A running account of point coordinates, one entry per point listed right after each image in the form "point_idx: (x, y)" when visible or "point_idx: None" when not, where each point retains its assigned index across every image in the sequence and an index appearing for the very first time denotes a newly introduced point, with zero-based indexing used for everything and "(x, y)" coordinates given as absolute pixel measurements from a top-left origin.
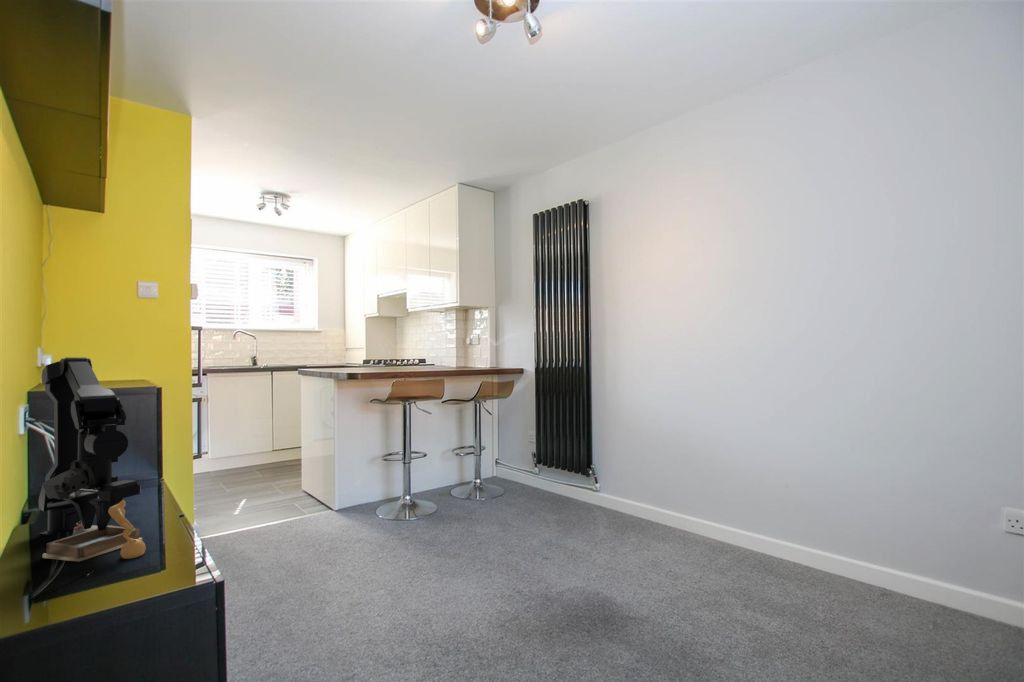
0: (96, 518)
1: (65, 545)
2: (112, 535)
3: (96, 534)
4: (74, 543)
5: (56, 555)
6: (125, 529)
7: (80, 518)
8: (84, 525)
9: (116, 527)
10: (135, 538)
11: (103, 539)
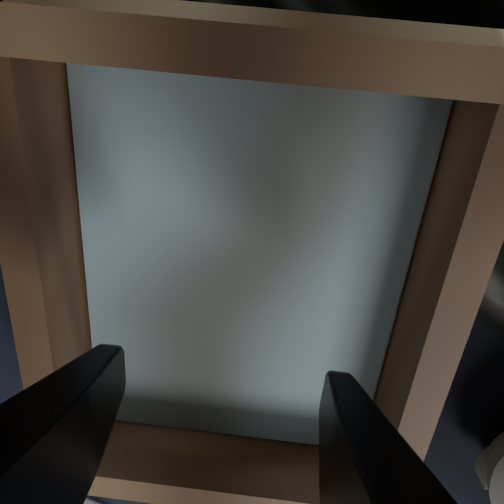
0: (22, 446)
1: (235, 42)
2: (296, 446)
3: None
4: (415, 269)
5: (343, 29)
6: (151, 479)
7: (423, 472)
8: (337, 393)
9: (259, 501)
10: None
11: (37, 270)
